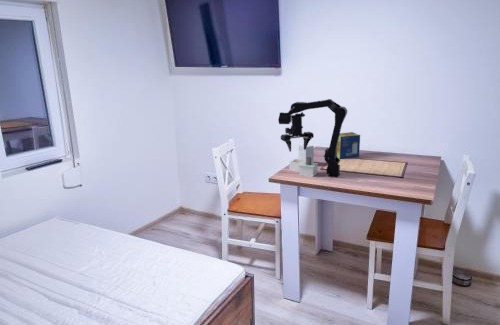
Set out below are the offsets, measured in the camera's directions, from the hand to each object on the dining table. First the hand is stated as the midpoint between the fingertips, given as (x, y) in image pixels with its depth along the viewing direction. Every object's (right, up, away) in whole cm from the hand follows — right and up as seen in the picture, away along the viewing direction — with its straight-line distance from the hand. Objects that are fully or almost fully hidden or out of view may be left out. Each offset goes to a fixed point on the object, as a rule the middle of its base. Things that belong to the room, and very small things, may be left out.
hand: (297, 150), depth 218 cm
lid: (+6, -9, -5) cm, 12 cm away
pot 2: (+6, -15, -3) cm, 16 cm away
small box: (+8, -9, +18) cm, 21 cm away
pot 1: (+1, -12, +7) cm, 14 cm away
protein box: (+38, -3, +37) cm, 53 cm away
